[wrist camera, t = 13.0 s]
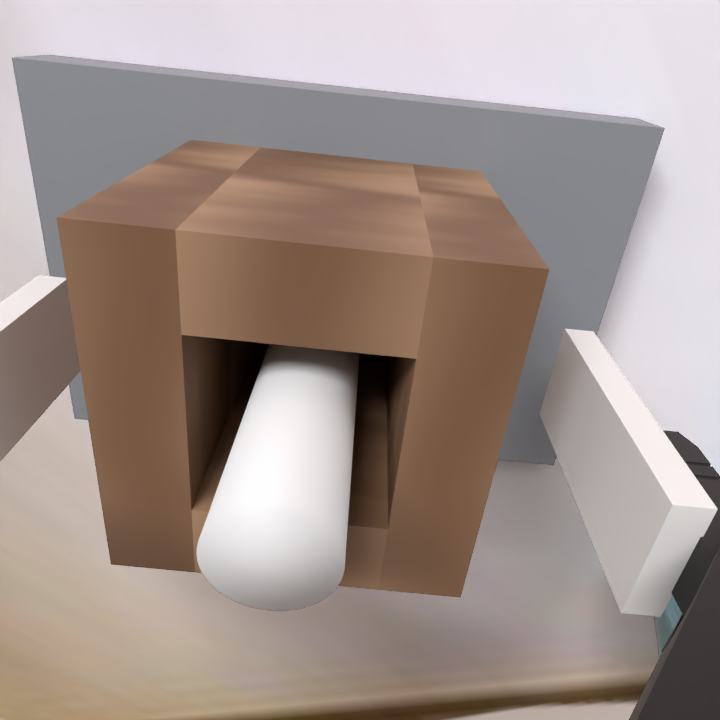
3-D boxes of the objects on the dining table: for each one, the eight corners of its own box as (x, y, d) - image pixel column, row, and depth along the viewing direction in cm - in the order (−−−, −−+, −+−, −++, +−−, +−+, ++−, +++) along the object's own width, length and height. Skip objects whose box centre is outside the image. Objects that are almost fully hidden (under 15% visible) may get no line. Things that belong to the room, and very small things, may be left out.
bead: (201, 386, 21) (111, 564, 14) (191, 139, 17) (55, 216, 10) (434, 410, 21) (460, 597, 14) (481, 171, 17) (549, 269, 10)
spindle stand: (97, 389, 24) (-165, 722, 12) (48, 54, 18) (-544, 99, 6) (541, 433, 24) (683, 796, 13) (637, 118, 18) (1067, 268, 7)
